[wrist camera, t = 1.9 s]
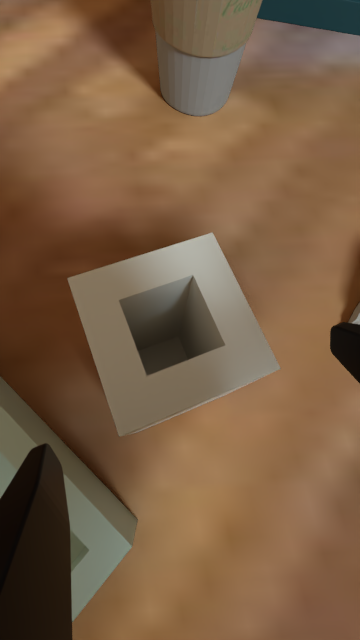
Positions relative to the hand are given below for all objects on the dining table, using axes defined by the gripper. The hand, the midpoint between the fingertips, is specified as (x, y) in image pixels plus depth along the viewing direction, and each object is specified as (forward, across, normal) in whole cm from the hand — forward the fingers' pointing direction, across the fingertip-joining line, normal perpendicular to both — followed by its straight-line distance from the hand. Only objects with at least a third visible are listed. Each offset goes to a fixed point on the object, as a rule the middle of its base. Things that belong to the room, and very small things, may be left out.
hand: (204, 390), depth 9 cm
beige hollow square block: (+9, 0, +5) cm, 10 cm away
